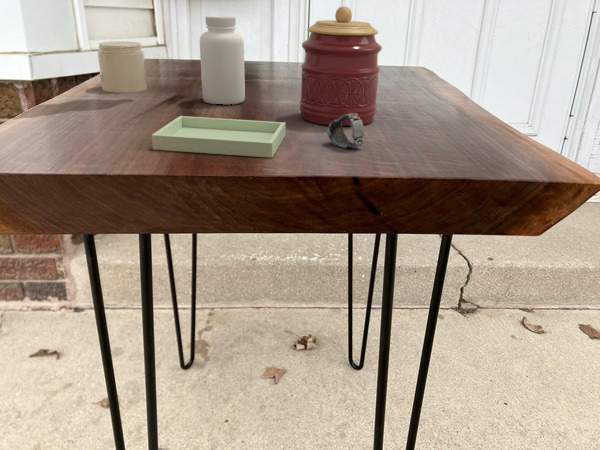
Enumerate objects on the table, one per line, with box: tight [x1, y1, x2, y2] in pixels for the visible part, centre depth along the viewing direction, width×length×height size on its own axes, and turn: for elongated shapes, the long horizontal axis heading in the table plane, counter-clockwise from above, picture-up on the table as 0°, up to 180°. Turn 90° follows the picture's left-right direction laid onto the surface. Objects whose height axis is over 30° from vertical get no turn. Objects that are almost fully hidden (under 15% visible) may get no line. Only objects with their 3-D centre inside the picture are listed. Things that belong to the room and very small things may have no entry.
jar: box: [97, 40, 148, 94], centre depth 97 cm, size 8×8×10 cm
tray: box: [151, 115, 287, 159], centre depth 74 cm, size 16×11×2 cm
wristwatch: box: [326, 113, 365, 149], centre depth 73 cm, size 3×5×5 cm
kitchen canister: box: [299, 5, 383, 127], centre depth 86 cm, size 13×13×18 cm
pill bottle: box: [199, 14, 246, 106], centre depth 96 cm, size 8×8×15 cm
